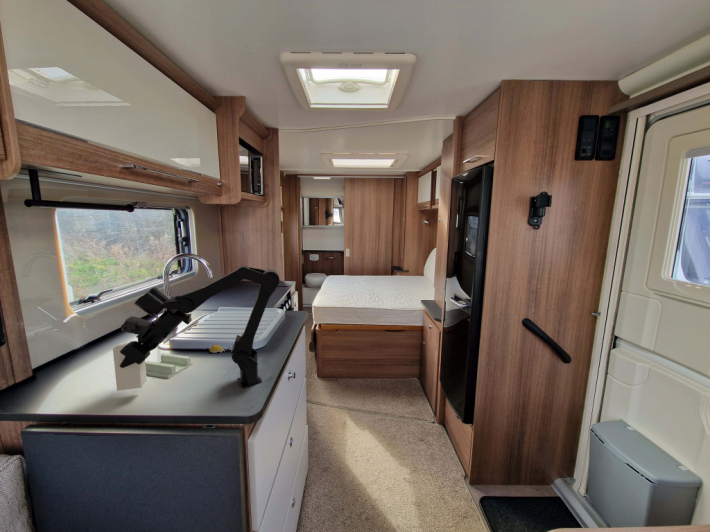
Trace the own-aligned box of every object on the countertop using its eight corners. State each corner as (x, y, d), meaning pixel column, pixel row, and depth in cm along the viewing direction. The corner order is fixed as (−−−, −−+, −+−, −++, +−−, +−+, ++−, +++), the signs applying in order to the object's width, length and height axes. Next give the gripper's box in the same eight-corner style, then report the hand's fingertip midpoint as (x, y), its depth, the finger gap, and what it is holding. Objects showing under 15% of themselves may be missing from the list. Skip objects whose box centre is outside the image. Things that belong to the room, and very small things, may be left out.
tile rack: (193, 364, 106) (193, 355, 105) (168, 378, 95) (168, 369, 95) (167, 360, 108) (167, 351, 108) (140, 374, 98) (139, 364, 97)
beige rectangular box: (146, 380, 87) (143, 341, 85) (141, 387, 83) (137, 346, 82) (123, 383, 85) (119, 343, 84) (117, 390, 81) (112, 348, 80)
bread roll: (212, 355, 114) (211, 346, 113) (206, 348, 120) (206, 339, 120) (233, 350, 119) (232, 341, 119) (226, 343, 126) (226, 335, 125)
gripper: (153, 300, 91) (116, 336, 89) (126, 317, 74) (78, 362, 72) (182, 321, 95) (146, 356, 93) (162, 342, 77) (118, 386, 75)
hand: (124, 363), depth 83 cm, fingers closed on beige rectangular box, 4 cm apart
